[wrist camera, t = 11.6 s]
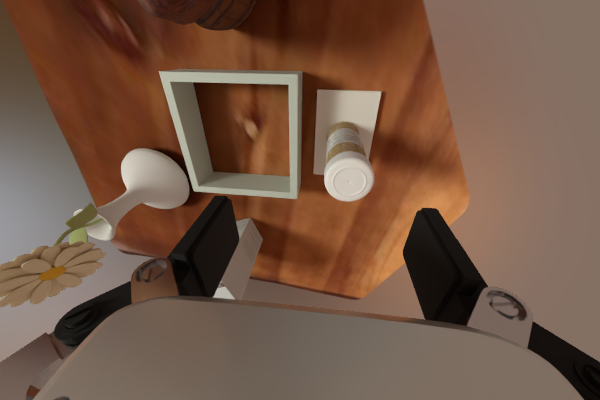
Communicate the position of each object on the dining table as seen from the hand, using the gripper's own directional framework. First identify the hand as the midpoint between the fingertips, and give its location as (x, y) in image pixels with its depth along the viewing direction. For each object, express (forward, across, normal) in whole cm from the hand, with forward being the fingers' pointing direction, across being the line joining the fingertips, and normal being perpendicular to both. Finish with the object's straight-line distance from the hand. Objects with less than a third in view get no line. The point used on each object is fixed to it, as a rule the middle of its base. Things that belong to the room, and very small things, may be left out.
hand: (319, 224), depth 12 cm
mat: (+23, -3, +3) cm, 24 cm away
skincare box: (+23, +16, +23) cm, 36 cm away
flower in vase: (+23, +28, +11) cm, 38 cm away
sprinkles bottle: (+23, -2, +3) cm, 23 cm away
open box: (+23, +11, +3) cm, 26 cm away
